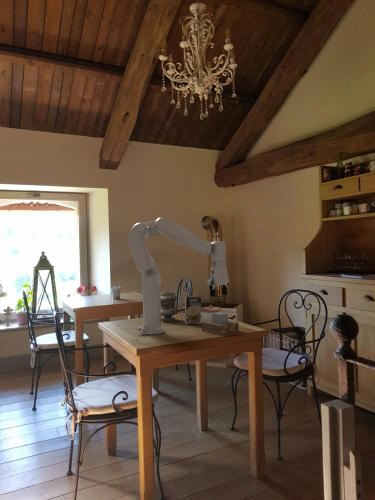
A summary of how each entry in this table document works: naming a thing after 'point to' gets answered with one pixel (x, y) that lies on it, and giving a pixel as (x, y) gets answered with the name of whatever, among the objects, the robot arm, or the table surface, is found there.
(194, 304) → the coffee box
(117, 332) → the table surface
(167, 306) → the apothecary jar
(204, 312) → the lidded bowl
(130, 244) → the robot arm
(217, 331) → the walnut block
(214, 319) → the slate block
